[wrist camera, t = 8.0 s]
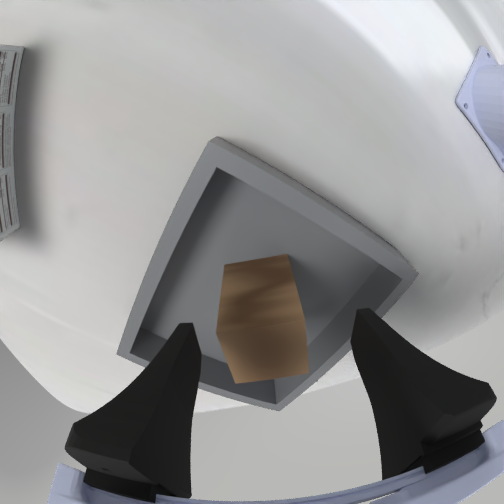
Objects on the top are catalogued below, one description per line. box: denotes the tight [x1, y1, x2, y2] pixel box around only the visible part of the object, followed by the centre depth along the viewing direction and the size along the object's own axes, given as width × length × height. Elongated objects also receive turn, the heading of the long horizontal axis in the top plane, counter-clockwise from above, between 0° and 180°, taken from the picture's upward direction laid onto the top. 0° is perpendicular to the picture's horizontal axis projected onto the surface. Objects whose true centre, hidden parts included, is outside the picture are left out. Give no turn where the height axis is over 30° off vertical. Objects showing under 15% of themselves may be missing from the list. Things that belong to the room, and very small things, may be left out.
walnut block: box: [216, 254, 309, 383], centre depth 18 cm, size 4×4×7 cm
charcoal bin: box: [117, 137, 419, 411], centre depth 20 cm, size 16×18×4 cm
